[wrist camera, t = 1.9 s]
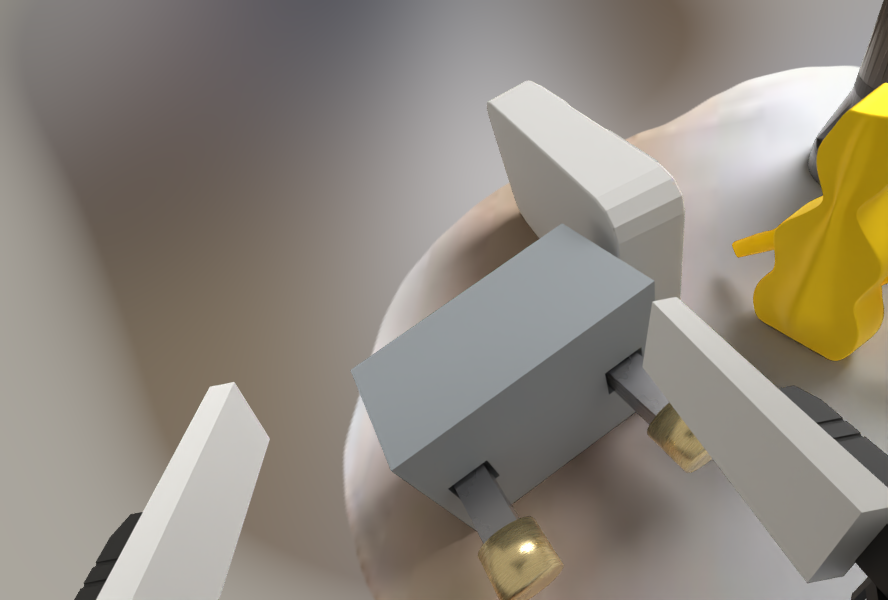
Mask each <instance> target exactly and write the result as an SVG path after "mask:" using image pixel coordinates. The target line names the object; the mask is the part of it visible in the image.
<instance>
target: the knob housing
mask: <svg viewBox="0 0 888 600" xmlns="http://www.w3.org/2000/svg"><path fill="white" fill-rule="evenodd" d="M652 301H655V281H654V280H652V279H651V278H649V277H648V276H646V275H644V274H643V273H641V272H640V271H638V270H636V269H635V268H633V267H632V266H630V265H628V264H627V263H625V262H623V261H622V260H620V259H619V258H617V257H615V256H614V255H612V254H611V253H609V252H607V251H606V250H604V249H603V248H601V247H599V246H598V245H596V244H595V243H593V242H591V241H590V240H588V239H587V238H585V237H583V236H582V235H580V234H579V233H577V232H575V231H574V230H572V229H571V228H569V227H567V226H566V225H564V224H563V223H562V224H560V225H559V226H557V227H556V228H554V229H553V230H551V231H550V232H549V233H547V234H546V235H544V236H543V237H541V238H540V239H539V240H537V241H536V242H534V243H533V244H531V245H530V246H528V247H527V248H526V249H524V250H523V251H521V252H520V253H518V254H517V255H515V256H514V257H513V258H511V259H510V260H508V261H507V262H505V263H504V264H503V265H501V266H500V267H498V268H497V269H495V270H494V271H492V272H491V273H490V274H488V275H487V276H485V277H484V278H482V279H481V280H480V281H478V282H477V283H475V284H474V285H472V286H471V287H469V288H468V289H467V290H465V291H464V292H462V293H461V294H459V295H458V296H456V297H455V298H454V299H452V300H451V301H449V302H448V303H446V304H445V305H444V306H442V307H441V308H439V309H438V310H436V311H435V312H433V313H432V314H431V315H429V316H428V317H426V318H425V319H423V320H422V321H421V322H419V323H418V324H416V325H415V326H413V327H412V328H410V329H409V330H408V331H406V332H405V333H403V334H402V335H400V336H399V337H397V338H396V339H395V340H393V341H392V342H390V343H389V344H387V345H386V346H385V347H383V348H382V349H380V350H379V351H377V352H376V353H374V354H373V355H372V356H370V357H369V358H367V359H366V360H364V361H363V362H362V363H360V364H359V365H357V366H356V367H354V368H353V369H352V370H351V372H352V375H353V378H354V380H355V382H356V385H357V387H358V390H359V392H360V395H361V397H362V400H363V402H364V405H365V407H366V410H367V412H368V415H369V417H370V420H371V422H372V425H373V427H374V430H375V432H376V435H377V437H378V440H379V442H380V445H381V447H382V450H383V452H384V455H385V457H386V460H387V462H388V464H389V467H390V469H391V471H392V472H393V473H395V474H396V475H398V476H399V477H400V478H402V479H403V480H405V481H406V482H408V483H409V484H410V485H412V486H413V487H415V488H416V489H417V490H419V491H420V492H422V493H423V494H425V495H426V496H427V497H429V498H430V499H432V500H433V501H435V502H436V503H437V504H439V505H440V506H442V507H443V508H445V509H446V510H447V511H449V512H450V513H452V514H453V515H454V516H456V517H457V518H459V519H460V520H462V521H463V522H464V523H466V524H467V525H469V526H470V527H472V528H473V529H474V530H476V528H475V526H474V524H473V522H472V520H471V518H470V517H469V515H468V513H467V511H466V509H465V507H464V505H463V503H462V501H461V499H460V497H459V495H458V493H457V491H456V489H455V488H454V486H453V485H454V484H455V483H457V482H458V481H459V480H461V479H462V478H463V477H465V476H466V475H467V474H469V473H470V472H472V471H473V470H474V469H476V468H477V467H478V466H480V465H481V464H482V463H484V462H485V463H486V464H487V466H488V467H489V469H490V471H491V472H492V474H493V476H494V477H495V479H496V480H497V482H498V484H499V485H500V487H501V489H502V490H503V492H504V494H505V495H506V497H507V498H508V500H509V502H510V503H511V504H513V503H514V502H515V501H517V500H518V499H519V498H521V497H522V496H523V495H525V494H526V493H528V492H529V491H530V490H532V489H533V488H534V487H536V486H537V485H538V484H540V483H541V482H542V481H544V480H545V479H546V478H548V477H549V476H550V475H552V474H553V473H554V472H556V471H557V470H558V469H560V468H561V467H562V466H564V465H565V464H566V463H568V462H569V461H570V460H572V459H573V458H574V457H576V456H577V455H578V454H580V453H581V452H582V451H584V450H585V449H586V448H588V447H589V446H590V445H592V444H593V443H594V442H596V441H597V440H598V439H600V438H601V437H603V436H604V435H605V434H607V433H608V432H609V431H611V430H612V429H613V428H615V427H616V426H617V425H619V424H620V423H621V422H623V421H624V420H625V419H627V418H628V417H629V416H631V415H632V414H633V413H635V412H636V411H635V410H634V409H632V408H631V407H630V406H629V405H628V404H627V403H626V402H625V401H624V400H623V399H622V398H621V397H620V396H619V395H618V394H617V393H616V392H615V391H614V390H613V389H611V388H610V387H609V386H608V385H607V382H606V377H605V373H607V372H608V371H609V370H611V369H612V368H613V367H615V366H616V365H617V364H619V363H620V362H622V361H623V360H624V359H626V358H627V357H628V356H630V355H631V354H632V353H634V352H635V351H636V352H637V353H638V354H640V355H641V356H642V357H643V358H644V352H645V346H646V339H647V333H648V326H649V320H650V313H651V306H652ZM476 531H477V530H476Z"/></svg>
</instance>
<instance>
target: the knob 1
mask: <svg viewBox="0 0 888 600" xmlns="http://www.w3.org/2000/svg"><path fill="white" fill-rule="evenodd" d="M453 486H454V488H455V489H456V491H457V493H458V495H459V497H460V499H461V501H462V503H463V505H464V507H465V509H466V511H467V513H468V515H469V517H470V518H471V520H472V522H473V524H474V526H475V528H476V530H477V532H478V534H479V536H480V538H481V540H482V542H483V545H482V547H481V548H480V550H479V552H478V557H479V559H480V561H481V563H482V565H483V567H484V569H485V571H486V573H487V575H488V577H489V579H490V581H491V584H492V586H493V588H494V590H495V592H496V594H497V596H498V598H499V600H528V599H530V598H532V597H533V596H535V595H536V594H537V593H539V592H540V591H541V590H543V589H544V588H545V587H546V586H548V585H549V584H550V583H551V582H552V581H553V580H554V579H555V578H556V577H557V576H558V575H559V574H560V572H561V571H562V569H563V567H564V565H563V563H562V562H561V560H560V558H559V557H558V555H557V554H556V552H555V551H554V549H553V547H552V546H551V544H550V543H549V541H548V540H547V538H546V537H545V535H544V533H543V532H542V530H541V529H540V527H539V526H538V524H537V522H536V521H535V519H534V518H533V517H523V518H519V516H518V515H517V513H516V511H515V510H514V508H513V507H512V505H511V503H510V502H509V500H508V498H507V497H506V495H505V494H504V492H503V490H502V489H501V487H500V485H499V484H498V482H497V480H496V479H495V477H494V476H493V474H492V472H491V471H490V469H489V467H488V466H487V464H486V463H485V462H484V463H482V464H481V465H480V466H478V467H477V468H476V469H474V470H473V471H472V472H470V473H469V474H467V475H466V476H465V477H463V478H462V479H461V480H459V481H458V482H457V483H455V484H454V485H453Z"/></svg>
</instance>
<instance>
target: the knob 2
mask: <svg viewBox="0 0 888 600" xmlns="http://www.w3.org/2000/svg"><path fill="white" fill-rule="evenodd" d="M643 359H644V358H643V357H642V356H641V355H640V354H638V353H637V352H636V351H635V352H634V353H632V354H631V355H630V356H628V357H627V358H626V359H624V360H623V361H622V362H620V363H619V364H617V365H616V366H615V367H613V368H612V369H611V370H609V371H608V372H607V373H605V377H606V382H607V385H608V386H609V387H610V388H611V389H613V390H614V391H615V392H616V393H617V394H618V395H619V396H620V397H621V398H622V399H623V400H624V401H625V402H626V403H627V404H628V405H629V406H630V407H631V408H632V409H634V410H635V411H636V412H637V413H638V414H639V415H640V416H641V417H642V418H643V419H644V420H645V421H646V422H647V423H648V424H649V427H648V430H647V434H648V436H649V437H650V438H651V439H652V440H653V441H655V442H656V443H657V444H658V445H659V446H660V447H661V448H662V449H663V450H664V451H665V452H666V453H667V454H668V455H669V456H670V457H671V458H672V459H673V460H674V461H675V462H676V463H677V464H678V465H679V466H680V467H681V468H682V469H683V470H684V471H685V472H686V473H690V472H693V471H695V470H697V469H699V468H700V467H702V466H704V465H705V464H706V463H708V462H709V461H710V460H712V458H711V456H710V455H709V454H708V452H707V451H706V450H705V448H704V447H703V446H702V445H701V443H700V442H699V441H698V439H697V438H696V437H695V435H694V434H693V433H692V431H691V430H690V429H689V427H688V426H687V425H686V424H685V422H684V421H683V420H682V418H681V417H680V416H679V414H678V413H677V412H676V410H675V409H674V408H673V406H672V405H671V404H670V403H669V401H668V400H667V399H666V397H665V396H664V395H663V393H662V392H661V391H660V389H659V388H658V387H657V386H656V384H655V383H654V382H653V380H652V379H651V378H650V376H649V375H648V374H647V372H646V371H645V370H644V368H643V367H642V366H643Z"/></svg>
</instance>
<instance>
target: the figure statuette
mask: <svg viewBox="0 0 888 600" xmlns="http://www.w3.org/2000/svg"><path fill="white" fill-rule="evenodd" d="M817 171H818V176H819V180H820V184H821V188H822V192H823V196H821V197H819V198H816V199H814V200H812V201H810V202H808V203H807V204H805V205H804V206H803V207H801V208H800V209H799V210H798V211H796V212H795V213H794V214H792V215H791V216H790V217H789V218H787V219H786V220H785V221H783V222H782V223H781V224H780V225H779V226H778V227H777V228H775V229H773V230H770V231H765V232H762V233H758V234H754V235H752V236H749V237H746V238H743V239H740V240H737V241H735V242H733V244H732V247H733V250H734V252H735V254H736V256H737V257H738V258H739V257H743V256H748V255H753V254H757V253H762V252H766V251H770V250H774V252H775V265H774V268H773V270H772V271H771V272H769V273H768V274H767V275H766V276H764V277H763V278H762V279H761V280H760V281H759V283H758V284H757V286H756V288H755V291H754V296H753V304H754V309H755V313H756V315H757V317H758V318H759V319H760V320H761V321H763V322H764V323H766V324H768V325H770V326H771V327H773V328H775V329H777V330H778V331H780V332H782V333H783V334H785V335H787V336H788V337H790V338H792V339H794V340H795V341H797V342H799V343H801V344H802V345H804V346H806V347H808V348H810V349H811V350H813V351H815V352H817V353H818V354H820V355H822V356H824V357H825V358H827V359H829V360H832V361H838V360H841V359H844V358H845V357H847V356H848V355H850V354H851V353H853V352H854V351H855V350H856V349H858V348H859V347H860V346H861V345H863V344H864V343H865V342H866V341H868V340H869V339H870V338H871V337H872V336H873V335H875V334H876V332H877V331H878V330H879V328H880V326H881V324H882V321H883V317H884V305H883V299H882V285H885V284H887V283H888V83H884V84H882V85H881V86H879V87H878V88H876V89H875V90H874V91H873V92H871V93H870V94H869V95H867V96H866V97H865V98H864V99H862V100H861V101H860V102H858V103H857V104H856V105H855V106H853V107H852V108H851V109H849V110H848V111H847V112H846V113H845V114H844V115H843V116H842V117H841V118H840V119H839V121H838V122H837V123H836V125H835V126H834V127H833V128H832V130H831V131H830V132H829V133H828V135H827V136H826V137H825V138H824V140H823V141H822V143H821V144H820V146H819V149H818V152H817Z"/></svg>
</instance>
